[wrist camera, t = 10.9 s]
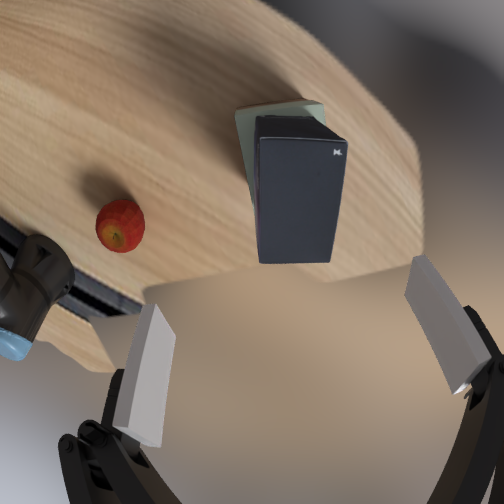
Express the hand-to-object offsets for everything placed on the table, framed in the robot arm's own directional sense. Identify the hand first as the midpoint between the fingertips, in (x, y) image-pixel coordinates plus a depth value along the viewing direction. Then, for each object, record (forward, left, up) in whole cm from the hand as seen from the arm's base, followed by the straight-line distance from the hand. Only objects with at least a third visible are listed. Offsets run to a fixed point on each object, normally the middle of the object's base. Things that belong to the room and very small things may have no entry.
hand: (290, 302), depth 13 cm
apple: (-22, -5, -29) cm, 37 cm away
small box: (+2, 0, -19) cm, 19 cm away
